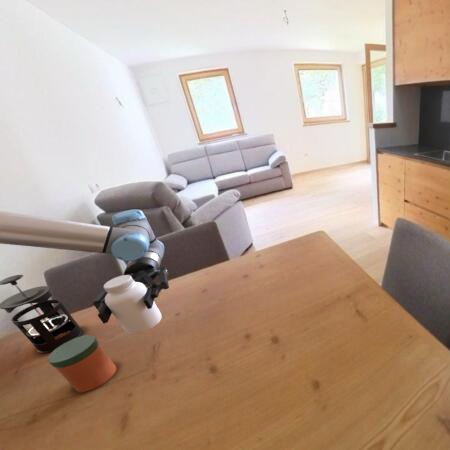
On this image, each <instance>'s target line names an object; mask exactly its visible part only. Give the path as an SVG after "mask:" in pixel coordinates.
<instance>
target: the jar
mask: <svg viewBox="0 0 450 450" xmlns="http://www.w3.org/2000/svg"><path fill="white" fill-rule="evenodd" d="M54 368H55V369H56V370H57V371H58V372H59V373H60V375H61V376H62V377H63V378H64V380H66V381H67V383H69V385H70V386H71V387H72V388H73V389H74V390H75V391H76V392H78V393H85V392H88V391H89V392H90V391H92V390H94V389H96V388H99V387H100V386H102V385H103V384H105V383H106V382H107V381H109V380H110V379H111V378H112V377H113V376H114V375H115V373H116V372H117V365H116V364H115V363H114V362H113V361H112V359H111V358H110V356H109V355H108V353H106V351H105V350H104V348H103V347H102V345H100V343H99V344H98V347H97V348H96V349H95V350H94V351H93V352H92V353H91V354H90V355H88V356H87V357H85V358H84V359H82V360H80V361H78V362H76V363H74V364H72V365H69V366H66V367H61V368H56V367H54Z"/></svg>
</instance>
